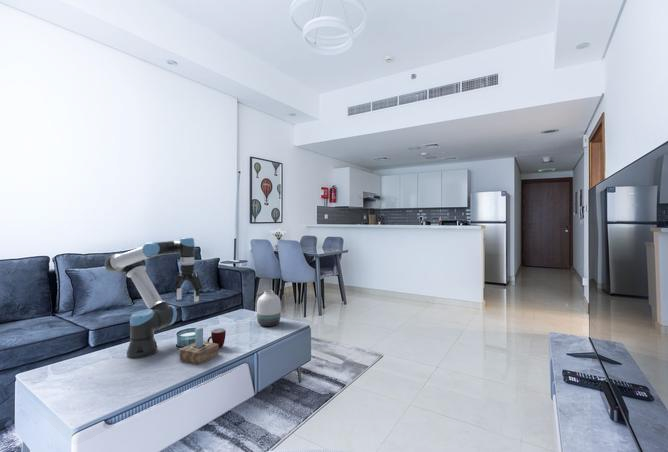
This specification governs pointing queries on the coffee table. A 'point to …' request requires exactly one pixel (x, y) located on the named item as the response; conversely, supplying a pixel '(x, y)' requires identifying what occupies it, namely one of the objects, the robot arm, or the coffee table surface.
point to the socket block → (199, 353)
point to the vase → (268, 309)
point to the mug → (218, 336)
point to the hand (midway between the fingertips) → (187, 300)
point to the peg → (199, 337)
